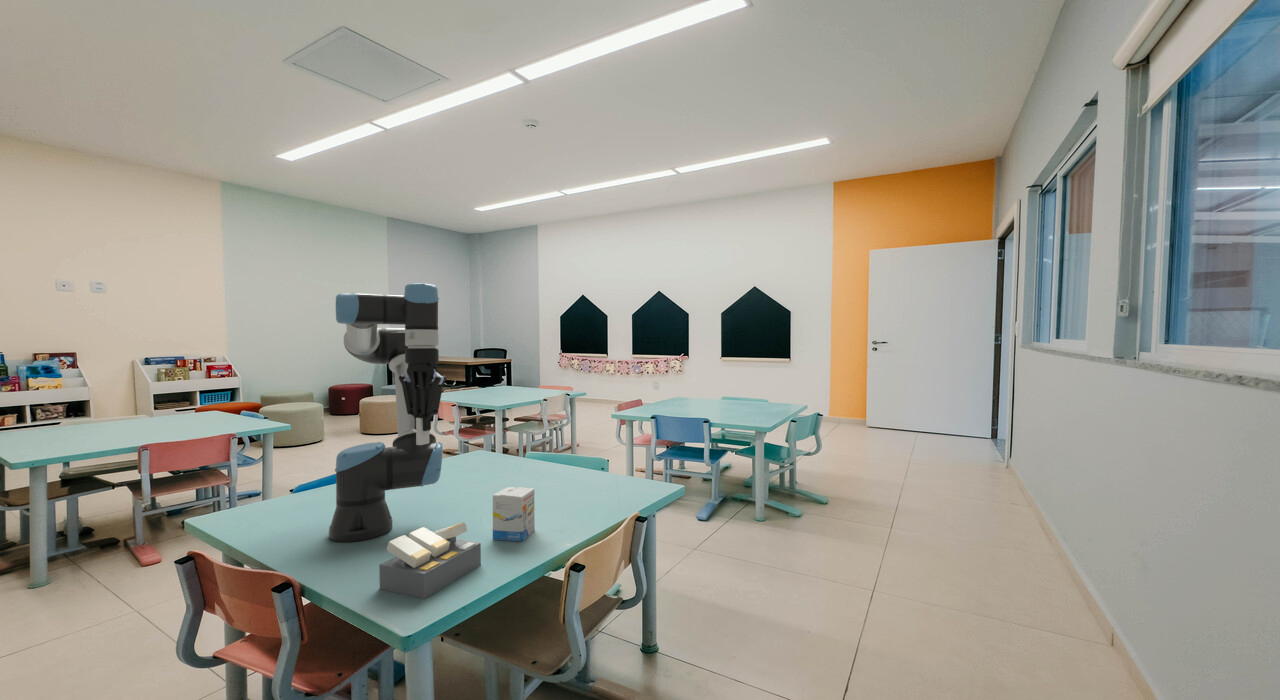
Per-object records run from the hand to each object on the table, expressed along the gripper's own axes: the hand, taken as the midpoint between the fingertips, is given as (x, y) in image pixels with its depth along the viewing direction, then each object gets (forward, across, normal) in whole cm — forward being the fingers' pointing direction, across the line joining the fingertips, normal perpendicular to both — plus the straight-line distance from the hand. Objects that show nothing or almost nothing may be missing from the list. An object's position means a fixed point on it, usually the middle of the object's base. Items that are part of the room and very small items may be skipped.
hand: (422, 443), depth 124 cm
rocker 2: (+19, +11, -10) cm, 24 cm away
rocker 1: (+19, +11, -15) cm, 27 cm away
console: (+26, +12, -10) cm, 31 cm away
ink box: (+27, +14, +17) cm, 35 cm away
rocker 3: (+19, +11, -4) cm, 22 cm away
